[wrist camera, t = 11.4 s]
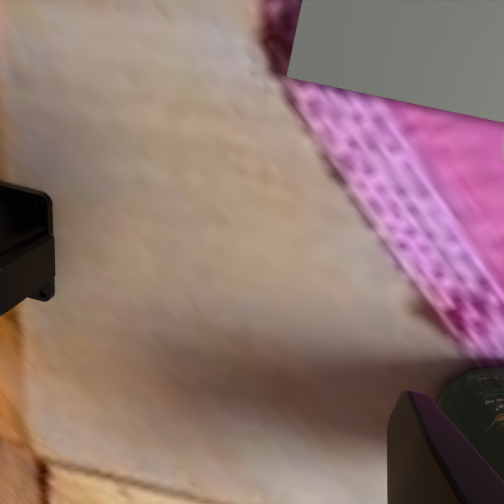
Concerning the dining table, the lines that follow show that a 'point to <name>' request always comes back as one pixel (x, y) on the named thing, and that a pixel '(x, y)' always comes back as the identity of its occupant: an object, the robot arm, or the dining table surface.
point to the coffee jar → (479, 412)
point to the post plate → (406, 51)
